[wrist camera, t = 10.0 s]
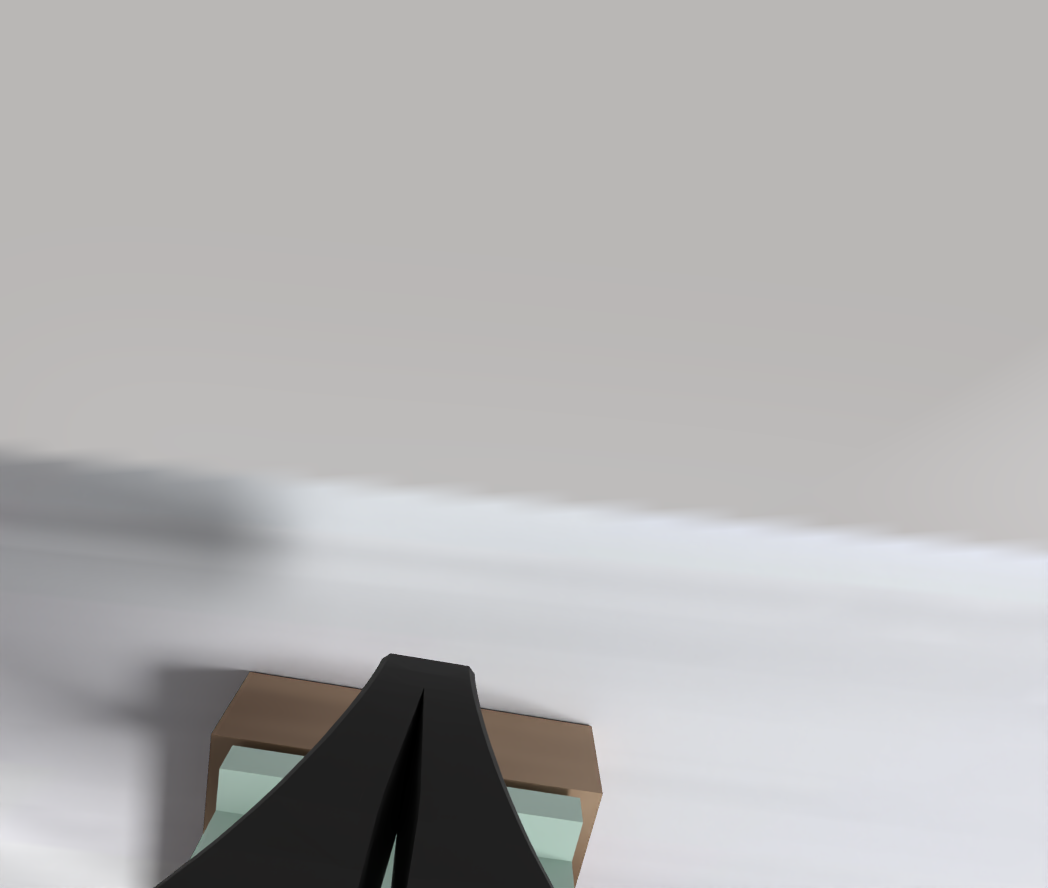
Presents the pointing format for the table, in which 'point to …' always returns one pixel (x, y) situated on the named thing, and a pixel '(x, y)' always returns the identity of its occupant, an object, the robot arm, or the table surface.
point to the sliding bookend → (541, 814)
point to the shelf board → (312, 708)
